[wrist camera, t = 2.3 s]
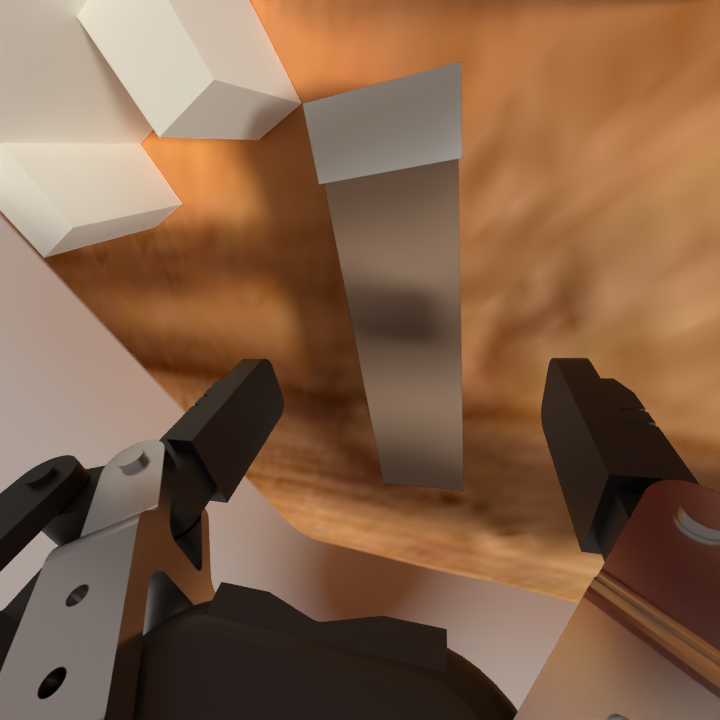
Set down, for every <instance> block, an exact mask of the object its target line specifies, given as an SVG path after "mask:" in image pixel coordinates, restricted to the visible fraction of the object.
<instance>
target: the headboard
mask: <svg viewBox="0 0 720 720" xmlns="http://www.w3.org/2000/svg"><path fill="white" fill-rule="evenodd" d="M301 104H302V103H301V101H300V99H299V97H298V95H297V93H296V91H295V89H294V87H293V85H292V83H291V81H290V79H289V77H288V75H287V73H286V71H285V69H284V67H283V65H282V63H281V62H280V60H279V58H278V56H277V54H276V52H275V50H274V48H273V46H272V44H271V42H270V40H269V38H268V36H267V34H266V32H265V30H264V28H263V26H262V24H261V22H260V20H259V18H258V16H257V14H256V12H255V10H254V8H253V6H252V4H251V2H250V0H0V211H1V212H2V213H3V214H4V215H5V216H6V217H7V218H8V219H9V220H10V221H11V223H12V224H13V225H14V226H15V227H16V228H17V229H18V230H19V231H20V232H21V233H22V234H23V236H24V237H25V238H26V239H27V240H28V241H29V242H30V243H31V244H32V245H33V246H34V247H35V249H36V250H37V251H38V252H39V253H40V254H41V255H42V256H43V257H44V258H45V257H49V256H52V255H56V254H60V253H63V252H67V251H71V250H74V249H78V248H82V247H86V246H89V245H93V244H97V243H100V242H104V241H108V240H111V239H115V238H119V237H122V236H126V235H130V234H133V233H137V232H141V231H144V230H148V229H152V228H155V227H156V226H158V225H159V224H160V223H161V222H162V221H163V220H165V219H166V218H167V217H168V216H169V215H171V214H172V213H173V212H174V211H175V210H176V209H178V208H179V207H180V206H181V205H182V202H181V201H180V199H179V198H178V197H177V195H176V194H175V192H174V191H173V190H172V188H171V187H170V185H169V184H168V182H167V181H166V180H165V178H164V177H163V175H162V174H161V173H160V171H159V170H158V168H157V167H156V165H155V164H154V163H153V161H152V160H151V158H150V157H149V155H148V154H147V153H146V151H145V150H144V148H143V147H142V146H141V142H142V141H143V140H144V139H145V138H146V137H147V136H148V135H149V134H150V133H151V132H152V131H153V129H154V131H155V132H156V134H157V135H158V137H161V138H197V139H233V140H259V139H260V138H262V137H263V136H264V135H265V134H266V133H268V132H269V131H270V130H271V129H272V128H273V127H275V126H276V125H277V124H278V123H279V122H281V121H282V120H283V119H284V118H285V117H286V116H288V115H289V114H290V113H291V112H292V111H294V110H295V109H296V108H297V107H298V106H299V105H301Z"/></svg>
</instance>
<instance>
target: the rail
mask: <svg viewBox="0 0 720 720" xmlns="http://www.w3.org/2000/svg"><path fill="white" fill-rule="evenodd" d="M303 109H304V114H305V119H306V124H307V129H308V133H309V138H310V143H311V148H312V153H313V158H314V163H315V167H316V172H317V177H318V182H319V184H324V185H325V190H326V195H327V200H328V205H329V210H330V215H331V220H332V225H333V231H334V236H335V241H336V246H337V251H338V256H339V261H340V266H341V271H342V276H343V281H344V286H345V291H346V296H347V301H348V306H349V311H350V316H351V321H352V326H353V331H354V336H355V341H356V347H357V352H358V357H359V362H360V367H361V372H362V377H363V382H364V387H365V392H366V397H367V402H368V407H369V412H370V417H371V422H372V427H373V432H374V437H375V442H376V447H377V452H378V457H379V462H380V468H381V473H382V478H383V483H385V484H396V485H407V486H418V487H429V488H440V489H451V490H462V491H464V489H463V425H462V361H461V297H460V233H459V169H458V159H459V158H462V87H461V62H458V63H454V64H450V65H446V66H443V67H439V68H435V69H431V70H428V71H424V72H420V73H416V74H413V75H409V76H405V77H401V78H398V79H394V80H390V81H386V82H382V83H379V84H375V85H371V86H367V87H364V88H360V89H356V90H352V91H349V92H345V93H341V94H337V95H334V96H330V97H326V98H322V99H318V100H315V101H311V102H307V103H303Z"/></svg>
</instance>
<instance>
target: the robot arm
mask: <svg viewBox="0 0 720 720" xmlns="http://www.w3.org/2000/svg"><path fill="white" fill-rule="evenodd" d="M283 407H284V400H283V396H282V393H281V390H280V387H279V384H278V381H277V378H276V375H275V373H274V370H273V367H272V364H271V362H270V361H269V360H267V359H243V360H242V361H241V362H240V363H239V364H238V365H237V366H236V367H235V368H234V369H233V370H232V371H231V372H230V373H229V374H228V375H227V376H226V377H224V378H222V379H221V380H219V381H218V382H216V383H215V384H214V385H213V386H212V387H211V388H210V389H209V390H208V391H207V392H206V393H205V394H204V397H201V398H200V399H199V400H198V401H197V402H196V403H195V406H192V407H191V408H190V409H189V410H188V411H187V412H186V413H185V414H184V415H183V417H181V419H180V420H179V421H178V422H177V423H176V424H175V425H174V426H173V427H172V428H171V429H170V430H169V431H168V432H167V433H166V434H165V435H164V436H163V437H162V438H161V439H160V440H159V441H158V440H146V441H142V442H139V443H136V444H134V445H132V446H130V447H128V448H126V449H124V450H123V451H121V452H120V453H118V454H117V455H116V456H115V457H114V458H112V459H111V460H110V461H109V462H108V463H107V465H106V466H101V467H96V468H90V469H85V468H84V467H83V466H82V465H81V464H80V462H79V461H78V460H77V459H76V458H75V457H74V456H70V455H66V456H60V457H56V458H53V459H50V460H48V461H46V462H44V463H41V464H40V465H38V466H36V467H35V468H33V469H31V470H30V471H28V472H27V473H25V474H24V475H23V476H21V477H20V478H19V479H18V480H16V481H15V482H14V483H13V484H12V485H10V486H9V487H8V488H7V489H5V490H4V491H3V492H2V493H1V494H0V571H1V570H2V569H3V568H4V567H5V566H6V565H7V564H8V563H9V562H10V561H11V560H12V559H13V558H14V557H15V556H16V555H17V554H18V553H19V552H20V551H21V550H22V549H23V548H24V547H25V546H26V545H27V544H28V543H29V542H30V541H31V540H32V539H33V538H34V537H35V536H36V535H37V534H38V533H39V532H40V531H42V532H44V533H45V534H46V535H47V536H48V537H49V538H50V539H51V540H53V541H54V542H55V543H56V544H57V545H58V546H59V547H57V548H55V549H54V550H52V551H51V553H50V554H49V555H48V557H47V558H46V560H45V563H44V565H43V567H42V568H41V569H40V571H38V573H37V574H36V575H35V576H34V577H33V578H32V579H31V580H30V581H29V582H28V584H27V585H26V586H25V587H24V588H23V589H22V590H21V591H20V592H19V593H18V595H17V596H16V597H15V598H14V599H13V600H12V601H11V602H10V603H9V604H8V606H7V607H6V608H5V609H3V610H2V611H0V720H720V493H719V492H717V491H715V490H712V489H710V488H707V487H705V486H702V485H699V483H698V482H697V480H696V479H695V478H694V476H693V475H692V473H691V472H690V471H689V469H688V468H687V466H686V465H685V464H684V462H683V461H682V459H681V458H680V457H679V455H678V454H677V452H676V451H675V450H674V448H673V447H672V445H671V444H670V443H669V441H668V440H667V438H666V437H665V436H664V434H663V433H662V431H661V430H660V429H659V427H656V426H655V422H654V420H653V419H652V418H651V416H650V415H649V413H648V412H645V408H644V406H643V405H642V404H641V402H640V401H639V399H638V398H637V397H636V395H635V394H634V392H632V391H631V390H629V389H628V388H626V387H625V386H623V385H622V384H621V383H619V382H618V381H616V380H615V379H606V378H600V376H599V375H598V373H597V372H596V370H595V368H594V367H593V365H592V364H591V362H590V361H589V359H587V358H552V359H551V360H550V363H549V367H548V372H547V378H546V384H545V389H544V395H543V401H542V407H541V420H542V427H543V431H544V434H545V437H546V440H547V443H548V447H549V450H550V453H551V456H552V459H553V463H554V466H555V469H556V472H557V475H558V479H559V482H560V485H561V488H562V491H563V495H564V498H565V501H566V504H567V507H568V511H569V514H570V517H571V520H572V523H573V527H574V530H575V533H576V536H577V539H578V543H579V546H580V549H581V552H589V553H596V554H602V556H603V559H604V562H605V563H604V565H603V567H602V569H601V570H600V572H599V574H598V575H597V577H595V578H594V579H593V581H592V582H591V584H590V585H589V587H588V589H587V590H586V592H585V594H584V596H583V597H582V599H581V601H580V603H579V604H578V606H577V608H576V610H575V612H574V613H573V615H572V617H571V619H570V620H569V622H568V624H567V626H566V627H565V629H564V631H563V633H562V635H561V636H560V638H559V640H558V642H557V643H556V645H555V647H554V649H553V650H552V652H551V654H550V656H549V657H548V659H547V661H546V663H545V665H544V666H543V668H542V670H541V672H540V674H539V675H538V677H537V679H536V680H535V682H534V684H533V686H532V688H531V689H530V691H529V693H528V695H527V696H526V698H525V700H524V702H523V703H522V705H521V707H520V709H519V711H517V709H516V708H515V707H514V705H513V704H512V702H511V701H510V700H509V699H508V698H507V697H506V696H505V694H504V693H503V692H502V691H501V690H500V689H499V688H498V686H497V685H496V684H495V683H494V682H493V681H492V680H491V679H489V678H488V677H487V676H486V675H485V674H484V673H483V672H482V671H481V670H480V669H479V668H477V667H476V666H475V665H473V664H472V663H471V662H469V661H468V660H467V659H465V658H464V657H463V656H461V655H459V654H457V653H456V652H454V651H452V650H450V649H449V648H447V630H446V629H443V628H438V627H433V626H429V625H424V624H419V623H415V622H410V621H404V620H400V619H395V618H391V617H386V616H377V617H366V618H357V619H348V620H338V621H328V622H318V621H315V620H313V619H311V618H309V617H308V616H306V615H305V614H303V613H301V612H300V611H298V610H297V609H295V608H294V607H292V606H290V605H289V604H287V603H286V602H284V601H283V600H281V599H279V598H278V597H276V596H275V595H273V594H271V593H270V592H267V591H262V590H257V589H252V588H248V587H243V586H238V585H233V584H228V583H223V582H221V584H220V586H219V588H218V590H217V592H216V593H215V591H214V588H213V585H212V580H211V570H210V545H209V544H210V543H209V518H208V513H207V511H206V509H205V507H206V505H207V504H208V502H209V501H218V502H225V503H227V502H228V501H229V499H230V497H231V496H232V494H233V493H234V491H235V490H236V488H237V486H238V485H239V483H240V481H241V480H242V478H243V477H244V475H245V473H246V472H247V470H248V469H249V467H250V465H251V464H252V462H253V461H254V459H255V457H256V456H257V454H258V452H259V451H260V449H261V448H262V446H263V444H264V443H265V441H266V440H267V438H268V436H269V435H270V433H271V431H272V430H273V428H274V427H275V425H276V423H277V422H278V420H279V419H280V417H281V415H282V412H283Z"/></svg>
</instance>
